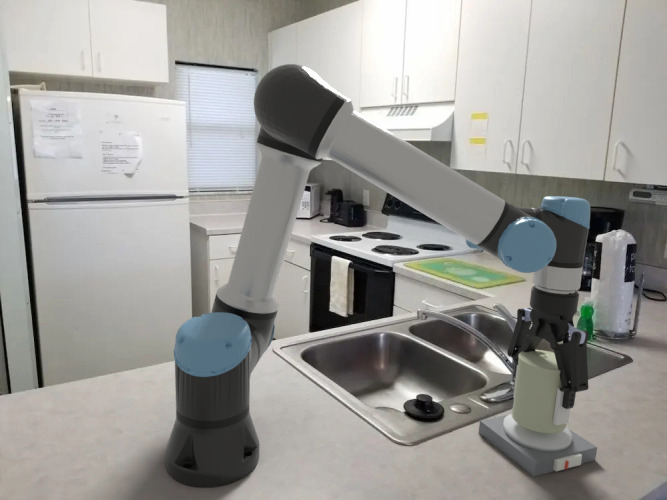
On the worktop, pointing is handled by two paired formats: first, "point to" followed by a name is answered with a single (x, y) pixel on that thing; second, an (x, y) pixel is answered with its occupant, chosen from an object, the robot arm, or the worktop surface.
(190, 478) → the robot arm
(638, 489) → the worktop surface
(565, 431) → the scale
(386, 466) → the worktop surface
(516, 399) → the can
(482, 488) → the worktop surface
